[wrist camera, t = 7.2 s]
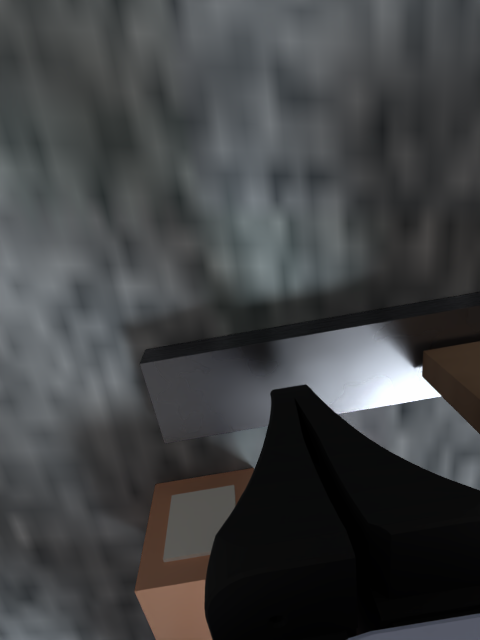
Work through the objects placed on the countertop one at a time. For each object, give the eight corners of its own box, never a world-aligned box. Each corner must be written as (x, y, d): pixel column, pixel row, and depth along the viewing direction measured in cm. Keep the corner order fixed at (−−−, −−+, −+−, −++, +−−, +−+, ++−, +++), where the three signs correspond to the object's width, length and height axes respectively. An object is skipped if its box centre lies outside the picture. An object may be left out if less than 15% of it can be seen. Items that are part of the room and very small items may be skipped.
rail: (168, 425, 16) (164, 443, 15) (145, 349, 15) (139, 364, 14) (681, 337, 16) (716, 349, 15) (713, 251, 15) (754, 258, 14)
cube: (177, 547, 20) (165, 661, 15) (154, 480, 18) (132, 588, 13) (265, 533, 20) (280, 642, 15) (252, 463, 18) (265, 566, 13)
